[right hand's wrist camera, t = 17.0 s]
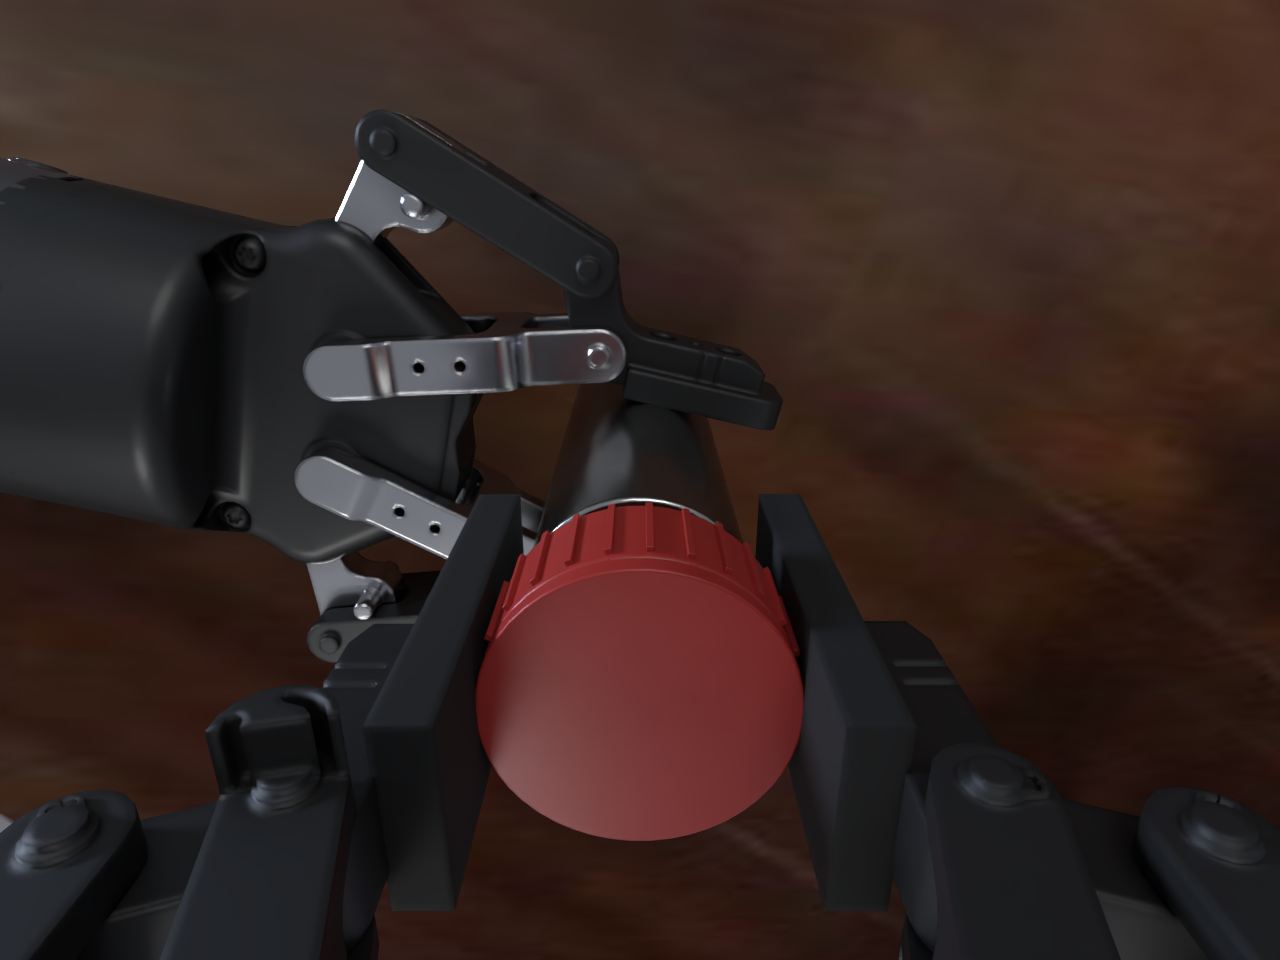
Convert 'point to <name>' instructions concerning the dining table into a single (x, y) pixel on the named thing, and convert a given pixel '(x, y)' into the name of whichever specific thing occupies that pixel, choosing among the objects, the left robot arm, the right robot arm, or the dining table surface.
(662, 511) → the lid
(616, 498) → the dark brown cylinder
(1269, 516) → the dining table surface
